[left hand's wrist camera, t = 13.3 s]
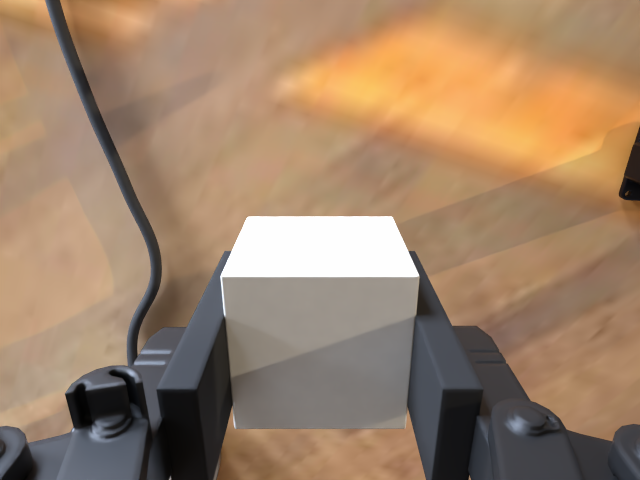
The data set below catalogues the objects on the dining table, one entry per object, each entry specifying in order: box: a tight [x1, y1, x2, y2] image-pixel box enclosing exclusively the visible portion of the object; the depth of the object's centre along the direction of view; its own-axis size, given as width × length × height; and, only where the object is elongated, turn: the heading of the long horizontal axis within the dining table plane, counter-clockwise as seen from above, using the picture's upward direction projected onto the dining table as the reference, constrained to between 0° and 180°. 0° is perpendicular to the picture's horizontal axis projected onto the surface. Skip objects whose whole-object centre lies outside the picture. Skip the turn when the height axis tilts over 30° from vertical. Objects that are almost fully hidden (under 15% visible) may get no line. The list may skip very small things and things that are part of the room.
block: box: [221, 217, 420, 429], centre depth 13 cm, size 5×5×4 cm
